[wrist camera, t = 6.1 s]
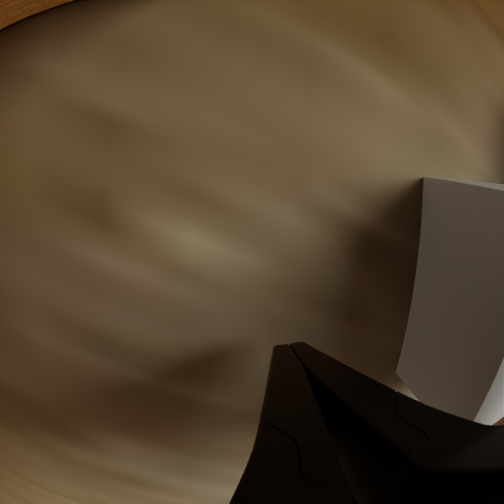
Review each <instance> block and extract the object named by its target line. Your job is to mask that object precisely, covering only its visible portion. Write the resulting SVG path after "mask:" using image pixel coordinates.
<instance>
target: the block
mask: <svg viewBox="0 0 504 504" xmlns="http://www.w3.org/2000/svg"><path fill="white" fill-rule="evenodd" d="M396 374H397V375H398V376H399V377H400V378H401V380H402V381H403V382H404V383H405V384H406V385H407V387H408V388H409V389H410V390H411V391H412V392H413V394H414V395H415V396H416V397H417V398H418V399H419V401H420V402H421V403H423V404H426V405H428V406H431V407H434V408H436V409H439V410H442V411H444V412H447V413H450V414H453V415H456V416H459V417H462V418H465V419H468V420H471V421H474V422H478V423H481V424H485V425H493V424H494V423H496V422H497V421H498V420H500V419H501V418H503V417H504V184H498V183H489V182H480V181H470V180H459V179H447V178H433V177H423V203H422V220H421V232H420V243H419V253H418V261H417V269H416V276H415V283H414V290H413V296H412V302H411V307H410V313H409V318H408V323H407V328H406V332H405V337H404V341H403V346H402V350H401V354H400V358H399V362H398V366H397V370H396Z"/></svg>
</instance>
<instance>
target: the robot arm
mask: <svg viewBox="0 0 504 504" xmlns="http://www.w3.org/2000/svg"><path fill="white" fill-rule="evenodd" d="M229 504H504V425H485V424H481V423H478V422H474V421H471V420H468V419H465V418H462V417H459V416H456V415H453V414H450V413H447V412H444V411H442V410H439V409H436V408H434V407H431V406H428V405H426V404H423V403H421V402H419V401H417V400H414V399H412V398H410V397H408V396H406V395H404V394H402V393H400V392H398V391H397V392H395V390H393V389H391V388H389V387H387V386H385V385H383V384H382V383H380V382H378V381H376V380H374V379H372V378H370V377H368V376H366V375H364V374H362V373H360V372H358V371H356V370H354V369H352V368H351V367H349V366H347V365H345V364H343V363H341V362H339V361H337V360H336V359H334V358H332V357H330V356H328V355H326V354H325V353H323V352H321V351H319V350H317V349H315V348H314V347H312V346H310V345H308V344H306V343H304V342H297V343H291V344H289V345H288V344H283V345H275V346H274V347H273V352H272V358H271V363H270V369H269V374H268V380H267V385H266V390H265V396H264V401H263V406H262V411H261V416H260V423H259V425H258V430H257V435H256V439H255V443H254V446H253V450H252V453H251V455H250V458H249V461H248V463H247V466H246V468H245V470H244V473H243V475H242V477H241V479H240V482H239V484H238V486H237V488H236V490H235V493H234V495H233V497H232V499H231V501H230V503H229Z"/></svg>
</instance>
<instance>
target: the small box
mask: <svg viewBox="0 0 504 504" xmlns="http://www.w3.org/2000/svg"><path fill="white" fill-rule="evenodd" d="M70 1H73V0H0V29H2V28H4V27H6V26H8V25H10V24H12V23H14V22H17V21H19V20H21V19H23V18H26V17H28V16H30V15H33V14H35V13H38V12H41V11H43V10H46V9H49V8H52V7H55V6H58V5H61V4H64V3H67V2H70Z"/></svg>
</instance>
